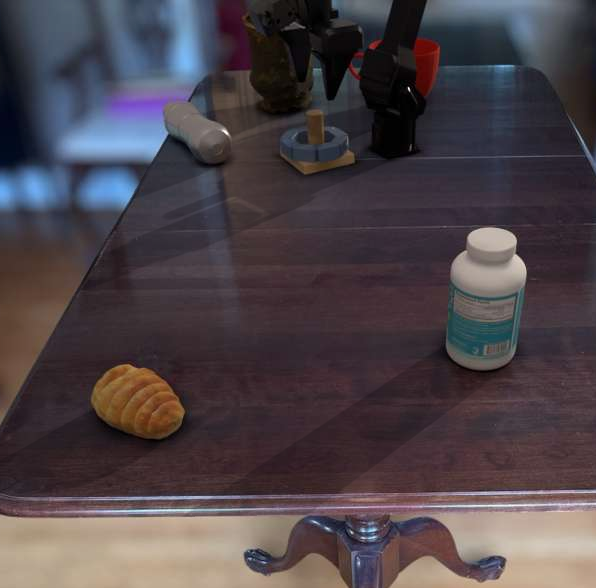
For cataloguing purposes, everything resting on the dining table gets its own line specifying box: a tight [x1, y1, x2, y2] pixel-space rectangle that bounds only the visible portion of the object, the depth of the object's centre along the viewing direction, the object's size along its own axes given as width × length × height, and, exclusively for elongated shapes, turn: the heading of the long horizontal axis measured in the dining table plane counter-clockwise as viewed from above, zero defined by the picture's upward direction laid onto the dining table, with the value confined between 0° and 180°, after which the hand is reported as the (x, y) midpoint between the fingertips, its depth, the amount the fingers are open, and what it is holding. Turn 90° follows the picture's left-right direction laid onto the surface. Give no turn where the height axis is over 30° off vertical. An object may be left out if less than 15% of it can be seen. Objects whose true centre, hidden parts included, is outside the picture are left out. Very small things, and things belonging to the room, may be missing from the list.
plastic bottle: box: [162, 100, 233, 165], centre depth 118 cm, size 6×7×20 cm
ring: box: [279, 125, 349, 163], centre depth 115 cm, size 10×10×2 cm
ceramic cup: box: [348, 37, 441, 99], centre depth 134 cm, size 13×17×10 cm
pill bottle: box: [445, 227, 527, 371], centre depth 72 cm, size 8×7×14 cm
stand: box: [279, 109, 355, 176], centre depth 114 cm, size 9×9×8 cm
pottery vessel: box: [241, 11, 315, 114], centre depth 130 cm, size 25×11×20 cm, turn 175°
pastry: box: [90, 363, 186, 440], centre depth 68 cm, size 9×7×4 cm
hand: (315, 91), depth 102 cm, fingers open, 9 cm apart
